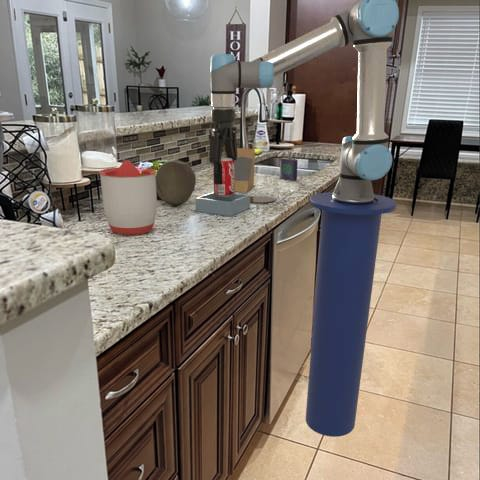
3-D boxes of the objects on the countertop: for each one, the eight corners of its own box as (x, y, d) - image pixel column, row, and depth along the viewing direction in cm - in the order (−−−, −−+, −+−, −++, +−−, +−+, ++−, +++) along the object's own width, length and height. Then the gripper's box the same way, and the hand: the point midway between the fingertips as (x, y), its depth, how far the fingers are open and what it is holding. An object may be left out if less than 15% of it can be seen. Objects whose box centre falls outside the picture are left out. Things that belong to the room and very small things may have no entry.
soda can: (232, 193, 173) (232, 157, 168) (236, 197, 167) (236, 160, 162) (212, 193, 172) (211, 157, 167) (215, 198, 166) (214, 160, 161)
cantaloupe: (196, 209, 171) (195, 164, 165) (154, 209, 170) (151, 164, 164) (196, 200, 184) (195, 158, 178) (157, 200, 183) (155, 158, 177)
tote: (249, 208, 174) (250, 195, 172) (230, 216, 163) (230, 202, 161) (216, 203, 180) (216, 190, 178) (195, 211, 169) (195, 197, 167)
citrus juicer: (169, 224, 153) (166, 156, 145) (146, 239, 137) (142, 165, 129) (121, 220, 156) (116, 154, 148) (94, 235, 140) (86, 162, 133)
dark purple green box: (278, 178, 229) (279, 154, 224) (282, 177, 231) (283, 153, 226) (294, 181, 223) (296, 156, 219) (298, 180, 225) (300, 155, 221)
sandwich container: (226, 191, 200) (226, 152, 194) (234, 184, 214) (234, 147, 208) (247, 192, 199) (247, 153, 193) (254, 185, 212) (254, 148, 206)
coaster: (279, 199, 188) (279, 198, 188) (266, 204, 179) (266, 203, 179) (253, 195, 192) (253, 194, 192) (239, 201, 184) (239, 200, 183)
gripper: (228, 107, 168) (229, 176, 177) (195, 109, 152) (198, 185, 161) (248, 107, 165) (247, 178, 174) (217, 110, 149) (218, 188, 158)
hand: (224, 181), depth 167 cm, fingers closed on soda can, 7 cm apart
